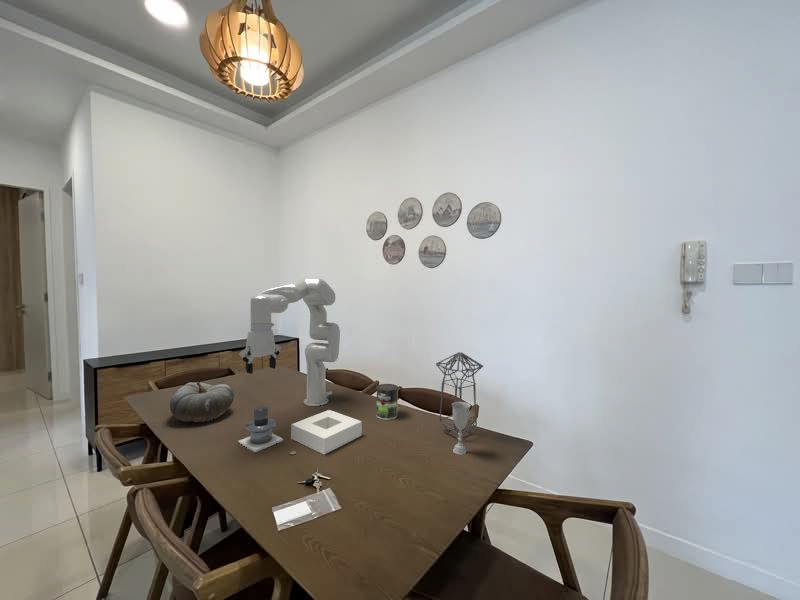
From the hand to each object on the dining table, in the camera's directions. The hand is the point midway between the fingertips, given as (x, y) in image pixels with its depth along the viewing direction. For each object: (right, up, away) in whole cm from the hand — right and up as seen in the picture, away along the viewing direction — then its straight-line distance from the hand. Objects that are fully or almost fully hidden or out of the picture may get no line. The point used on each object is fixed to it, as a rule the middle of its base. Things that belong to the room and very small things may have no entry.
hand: (261, 370), depth 132 cm
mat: (0, -28, 0) cm, 28 cm away
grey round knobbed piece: (0, -28, 0) cm, 28 cm away
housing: (+25, -29, +5) cm, 38 cm away
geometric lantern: (+79, -29, +12) cm, 86 cm away
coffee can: (+48, -28, +29) cm, 63 cm away
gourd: (-37, -27, +24) cm, 51 cm away
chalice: (+78, -30, -4) cm, 83 cm away
